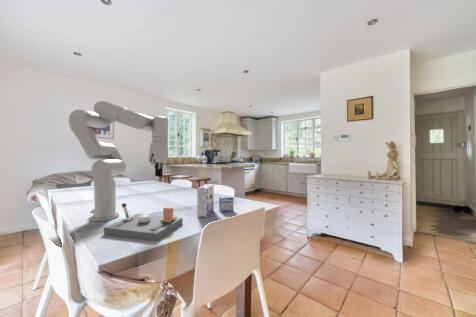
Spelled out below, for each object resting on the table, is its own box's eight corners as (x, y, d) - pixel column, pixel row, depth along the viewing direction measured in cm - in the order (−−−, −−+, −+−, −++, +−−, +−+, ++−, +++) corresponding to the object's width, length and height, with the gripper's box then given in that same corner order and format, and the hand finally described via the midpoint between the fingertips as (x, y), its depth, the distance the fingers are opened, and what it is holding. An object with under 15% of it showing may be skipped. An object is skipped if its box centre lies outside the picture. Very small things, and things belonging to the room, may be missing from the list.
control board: (103, 234, 83) (103, 226, 83) (138, 219, 103) (138, 212, 103) (156, 241, 77) (156, 231, 77) (182, 223, 97) (182, 216, 97)
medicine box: (221, 213, 115) (221, 198, 115) (219, 210, 119) (219, 196, 119) (233, 211, 118) (233, 197, 118) (231, 209, 122) (231, 195, 122)
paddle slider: (159, 221, 90) (159, 209, 89) (167, 217, 95) (167, 205, 95) (169, 222, 88) (169, 209, 88) (176, 218, 94) (176, 206, 94)
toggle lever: (124, 219, 92) (120, 204, 92) (127, 217, 94) (123, 203, 94) (127, 218, 91) (123, 203, 92) (131, 216, 93) (126, 202, 94)
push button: (135, 222, 88) (135, 217, 88) (143, 219, 93) (143, 214, 93) (145, 223, 87) (145, 218, 87) (152, 220, 92) (152, 215, 92)
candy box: (204, 210, 120) (204, 183, 120) (213, 210, 120) (214, 184, 119) (197, 217, 107) (197, 187, 106) (207, 217, 106) (207, 187, 106)
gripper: (162, 141, 108) (161, 174, 109) (143, 139, 94) (141, 177, 94) (174, 141, 106) (173, 175, 107) (156, 139, 92) (155, 178, 92)
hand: (158, 176), depth 101 cm, fingers closed
